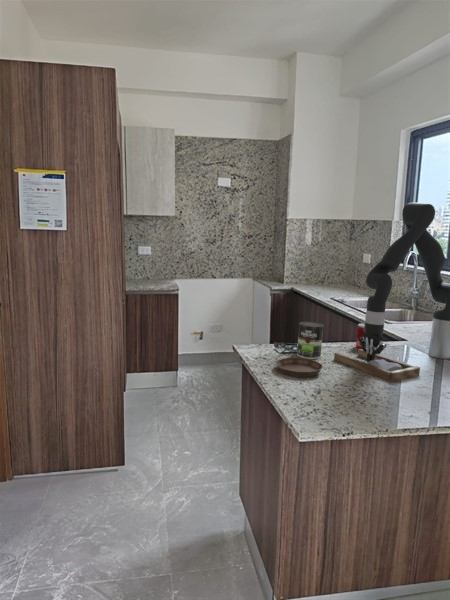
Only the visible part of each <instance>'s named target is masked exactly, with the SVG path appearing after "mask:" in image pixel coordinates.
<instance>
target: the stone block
mask: <svg viewBox="0 0 450 600" xmlns="http://www.w3.org/2000/svg"><path fill="white" fill-rule="evenodd" d="M368 364H371V365H373V366H376V367H379V368H382V369H385V370H387V371H390V372H391V371H396V370H401V369H402V367H401V365H399V364H398V363H389V362H386V361H385V360H384V359H382V360H371V361H369V362H368Z"/></svg>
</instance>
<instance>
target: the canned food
mask: <svg viewBox="0 0 450 600" xmlns="http://www.w3.org/2000/svg"><path fill="white" fill-rule="evenodd" d="M364 324H365V322H364V323H363V322H362V323H358V324H357V332H356V338H355V339H356V340H355V347H356V348H357V350H358V349H362V346H361V344H360V342H359V338H362V337H363V335H364V333H365V332H364Z"/></svg>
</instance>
